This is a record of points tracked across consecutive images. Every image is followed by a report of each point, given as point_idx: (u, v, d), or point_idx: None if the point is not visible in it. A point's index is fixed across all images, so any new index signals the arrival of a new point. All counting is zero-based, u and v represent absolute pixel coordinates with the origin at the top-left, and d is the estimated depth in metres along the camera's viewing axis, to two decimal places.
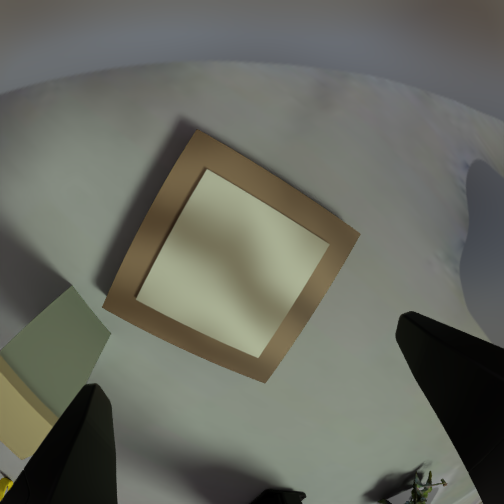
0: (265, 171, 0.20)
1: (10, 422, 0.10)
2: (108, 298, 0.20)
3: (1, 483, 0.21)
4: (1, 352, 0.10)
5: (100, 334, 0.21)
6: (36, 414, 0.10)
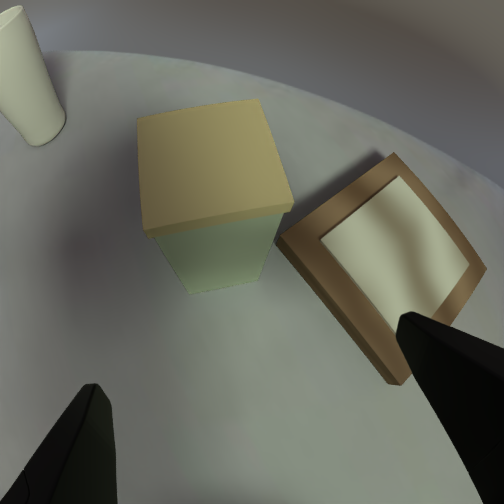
0: (433, 196, 0.24)
1: (208, 162, 0.11)
2: (291, 230, 0.22)
3: None
4: None
5: None
6: (275, 161, 0.11)
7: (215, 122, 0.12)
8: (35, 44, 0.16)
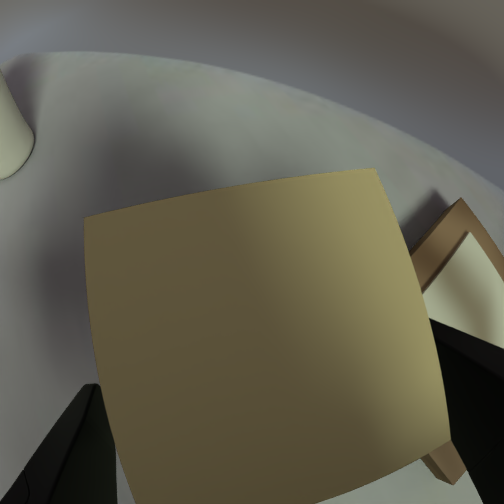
0: (501, 255, 0.17)
1: (281, 377, 0.04)
2: None
3: None
4: None
5: None
6: (428, 353, 0.04)
7: (288, 242, 0.05)
8: None
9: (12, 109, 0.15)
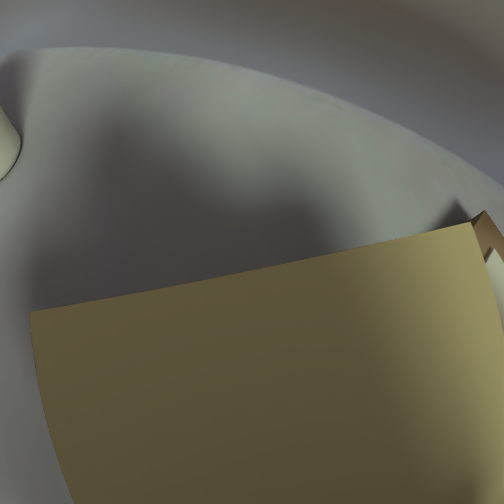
0: None
1: None
2: None
3: None
4: None
5: None
6: None
7: (367, 363, 0.03)
8: None
9: None
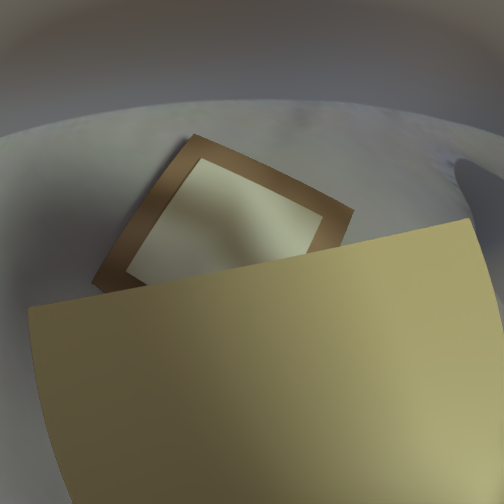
0: (252, 160, 0.23)
1: None
2: (99, 273, 0.19)
3: None
4: None
5: None
6: None
7: (366, 359, 0.03)
8: None
9: None
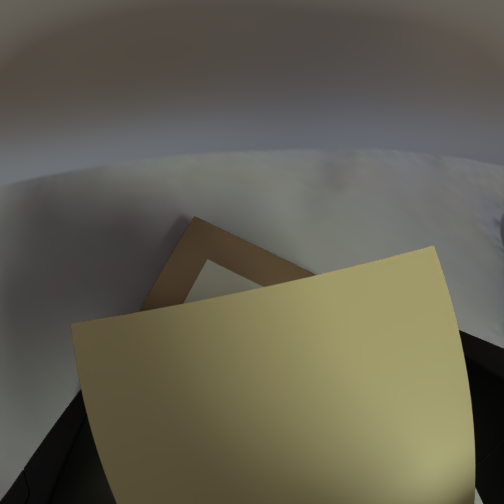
0: (278, 258, 0.17)
1: None
2: None
3: None
4: None
5: None
6: (466, 452, 0.03)
7: (336, 362, 0.04)
8: None
9: None
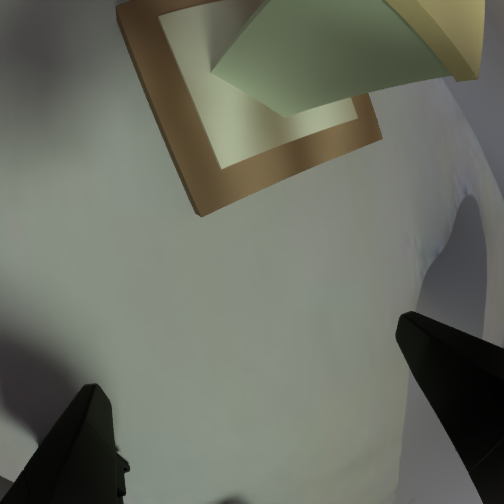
0: None
1: None
2: (131, 3, 0.12)
3: None
4: None
5: None
6: (479, 38, 0.05)
7: None
8: None
9: None
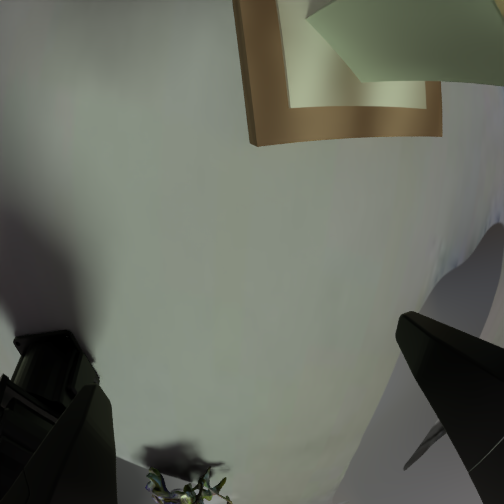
0: None
1: None
2: None
3: None
4: None
5: None
6: None
7: None
8: None
9: None
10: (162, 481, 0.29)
